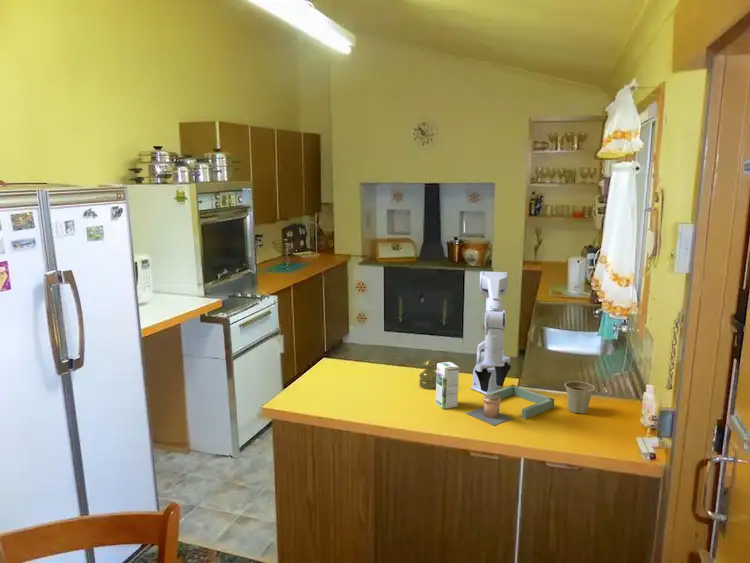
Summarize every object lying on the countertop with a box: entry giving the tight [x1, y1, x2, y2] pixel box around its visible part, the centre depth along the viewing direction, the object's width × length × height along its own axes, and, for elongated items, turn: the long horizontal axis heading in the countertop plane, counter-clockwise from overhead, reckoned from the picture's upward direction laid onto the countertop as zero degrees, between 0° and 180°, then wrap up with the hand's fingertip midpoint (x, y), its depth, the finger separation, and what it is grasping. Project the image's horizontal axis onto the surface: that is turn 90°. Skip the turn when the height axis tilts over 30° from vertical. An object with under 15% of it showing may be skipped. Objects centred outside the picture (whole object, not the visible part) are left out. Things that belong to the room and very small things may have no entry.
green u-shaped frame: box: [483, 384, 555, 420], centre depth 194 cm, size 18×16×3 cm
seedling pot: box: [482, 395, 502, 418], centre depth 185 cm, size 6×6×6 cm
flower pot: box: [564, 380, 596, 415], centre depth 189 cm, size 9×9×9 cm
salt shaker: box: [418, 359, 437, 390], centre depth 211 cm, size 7×7×10 cm
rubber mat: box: [465, 406, 513, 427], centre depth 185 cm, size 12×9×1 cm
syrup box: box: [435, 361, 460, 410], centre depth 192 cm, size 6×6×14 cm
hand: (492, 388), depth 184 cm, fingers open, 7 cm apart
